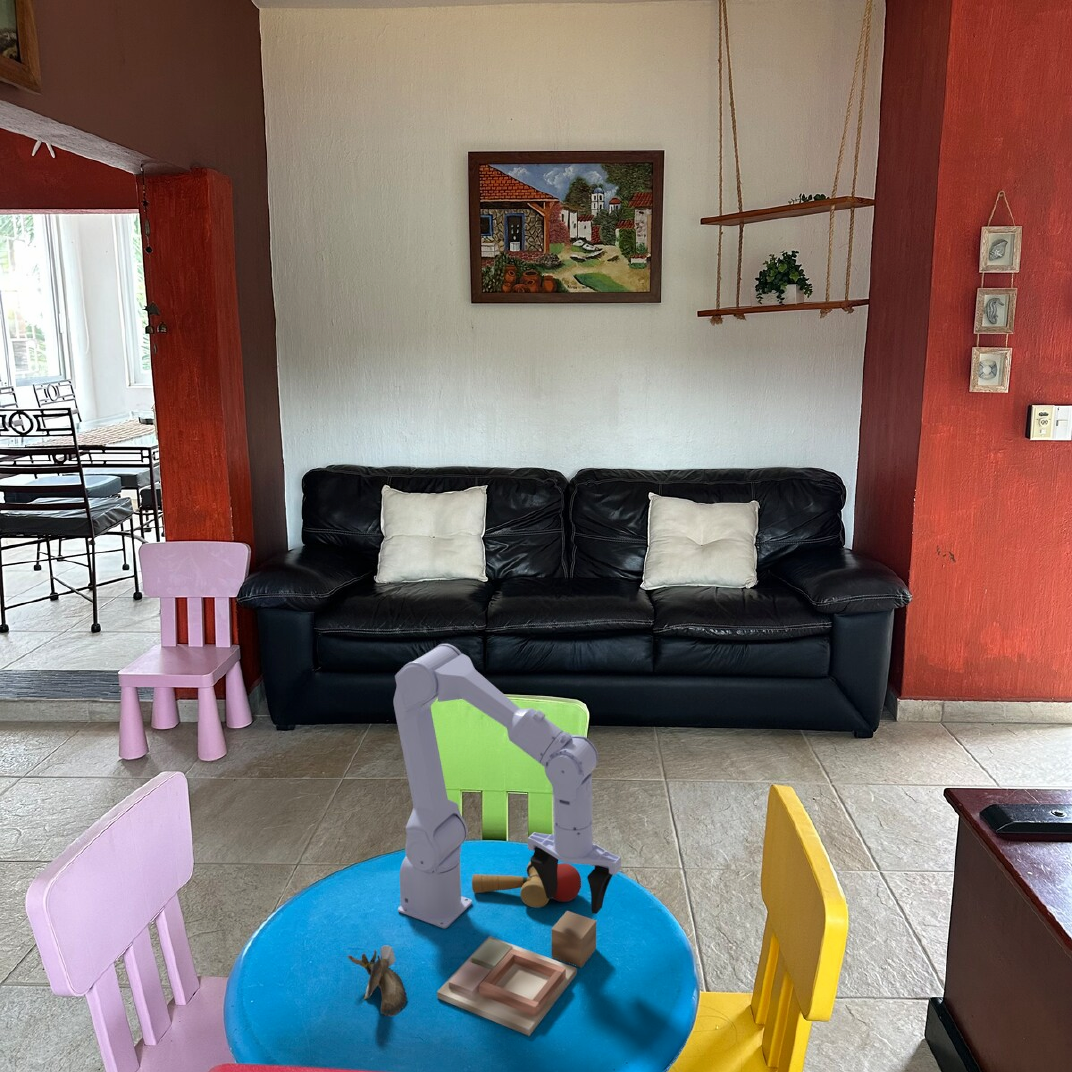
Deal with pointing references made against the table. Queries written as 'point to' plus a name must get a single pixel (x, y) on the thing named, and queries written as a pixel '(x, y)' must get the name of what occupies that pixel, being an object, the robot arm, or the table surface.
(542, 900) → the kendama
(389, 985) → the eagle figurine
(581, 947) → the walnut block
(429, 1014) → the table surface
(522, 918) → the table surface
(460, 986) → the puzzle board
